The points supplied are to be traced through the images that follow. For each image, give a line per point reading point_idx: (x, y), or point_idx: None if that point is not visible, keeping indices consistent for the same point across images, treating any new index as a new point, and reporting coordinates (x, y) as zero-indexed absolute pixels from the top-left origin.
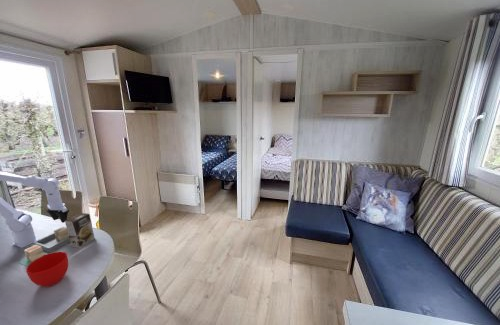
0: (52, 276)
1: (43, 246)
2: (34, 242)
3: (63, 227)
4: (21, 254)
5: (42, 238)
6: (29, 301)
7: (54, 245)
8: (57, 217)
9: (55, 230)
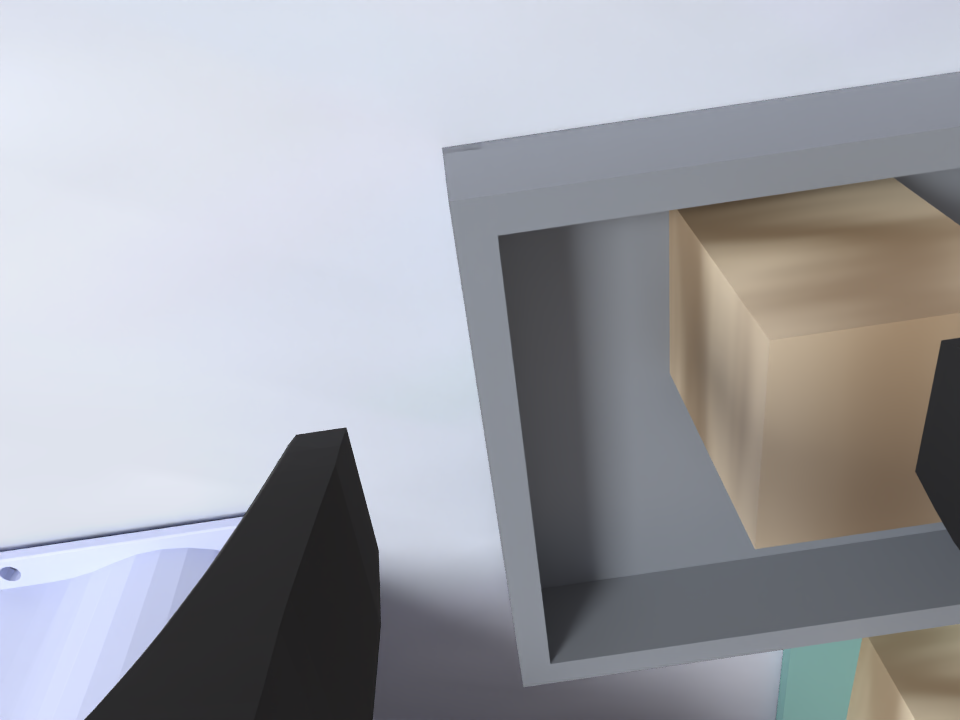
0: None
1: (863, 633)
2: (555, 679)
3: (842, 355)
4: (558, 714)
5: (526, 584)
6: None
7: None
8: (347, 508)
9: (778, 522)
